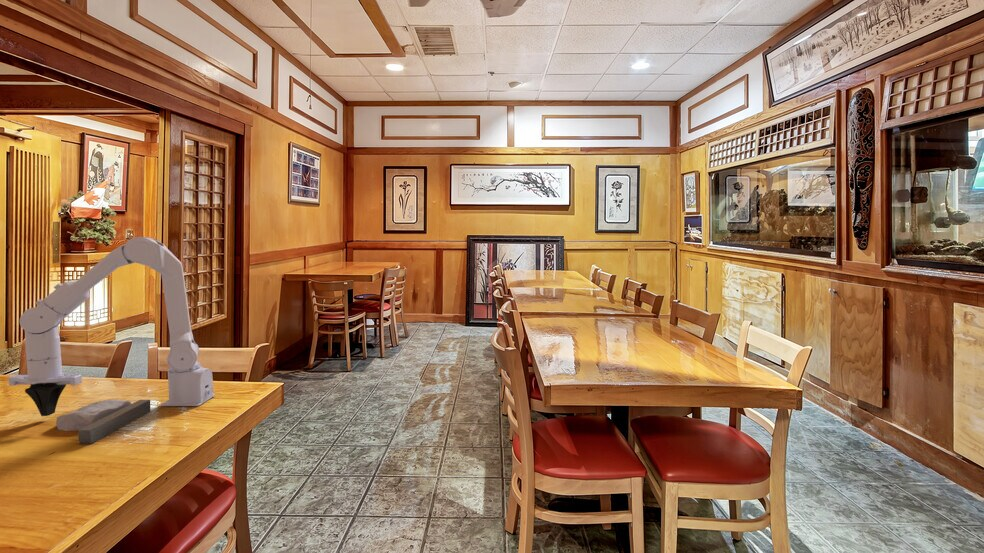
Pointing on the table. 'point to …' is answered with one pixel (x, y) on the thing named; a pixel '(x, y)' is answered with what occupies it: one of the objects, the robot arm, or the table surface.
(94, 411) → the stone block
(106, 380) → the table surface
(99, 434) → the bar
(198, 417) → the table surface
